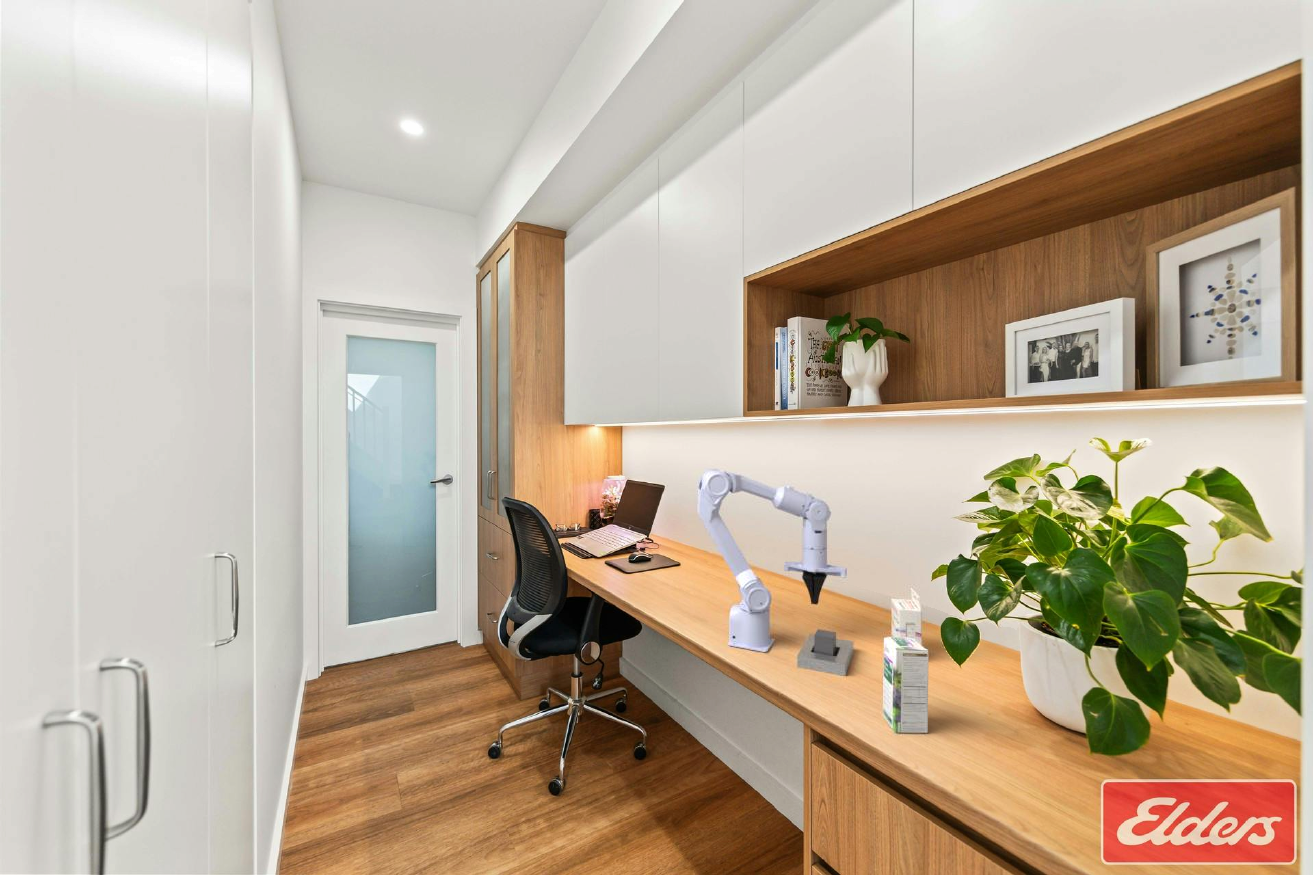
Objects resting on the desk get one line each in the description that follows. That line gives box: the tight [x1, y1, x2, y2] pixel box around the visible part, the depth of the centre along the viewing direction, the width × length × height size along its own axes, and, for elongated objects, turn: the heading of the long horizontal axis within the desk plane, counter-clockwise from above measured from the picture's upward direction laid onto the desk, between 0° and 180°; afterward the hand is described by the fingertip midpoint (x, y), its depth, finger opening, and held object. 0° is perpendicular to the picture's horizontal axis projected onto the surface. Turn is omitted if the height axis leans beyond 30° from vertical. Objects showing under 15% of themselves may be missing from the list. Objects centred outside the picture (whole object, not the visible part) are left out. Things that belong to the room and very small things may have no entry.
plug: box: [813, 628, 837, 657], centre depth 120 cm, size 4×4×6 cm
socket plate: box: [796, 633, 854, 677], centre depth 121 cm, size 10×14×3 cm
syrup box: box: [882, 636, 930, 734], centre depth 93 cm, size 6×6×14 cm
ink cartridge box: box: [890, 587, 923, 646], centre depth 123 cm, size 9×5×15 cm, turn 168°
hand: (814, 603), depth 129 cm, fingers closed
